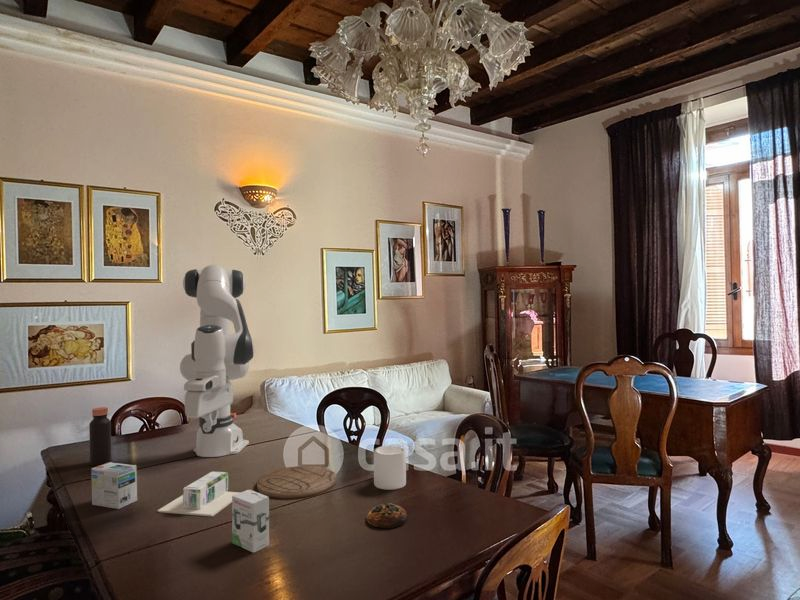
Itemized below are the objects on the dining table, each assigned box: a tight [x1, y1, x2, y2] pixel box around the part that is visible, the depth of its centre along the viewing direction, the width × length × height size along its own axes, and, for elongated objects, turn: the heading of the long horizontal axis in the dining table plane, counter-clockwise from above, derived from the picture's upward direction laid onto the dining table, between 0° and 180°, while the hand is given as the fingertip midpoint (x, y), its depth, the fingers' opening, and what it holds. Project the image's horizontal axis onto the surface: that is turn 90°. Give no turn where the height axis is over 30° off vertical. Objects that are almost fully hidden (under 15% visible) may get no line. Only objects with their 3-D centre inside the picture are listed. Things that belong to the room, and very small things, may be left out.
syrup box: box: [182, 471, 229, 509], centre depth 149 cm, size 6×6×14 cm
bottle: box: [88, 406, 112, 467], centre depth 185 cm, size 7×7×20 cm
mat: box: [157, 491, 241, 517], centre depth 147 cm, size 16×17×1 cm
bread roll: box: [365, 502, 408, 529], centre depth 135 cm, size 11×11×5 cm
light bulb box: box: [91, 461, 138, 510], centre depth 148 cm, size 11×7×11 cm, turn 71°
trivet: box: [256, 465, 337, 500], centre depth 162 cm, size 25×25×2 cm
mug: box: [373, 445, 407, 490], centre depth 163 cm, size 14×10×11 cm
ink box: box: [231, 489, 270, 553], centre depth 122 cm, size 9×5×12 cm, turn 54°
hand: (211, 425), depth 152 cm, fingers closed
